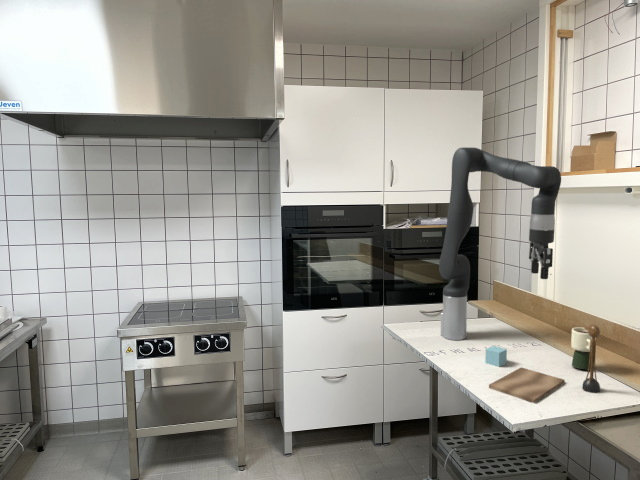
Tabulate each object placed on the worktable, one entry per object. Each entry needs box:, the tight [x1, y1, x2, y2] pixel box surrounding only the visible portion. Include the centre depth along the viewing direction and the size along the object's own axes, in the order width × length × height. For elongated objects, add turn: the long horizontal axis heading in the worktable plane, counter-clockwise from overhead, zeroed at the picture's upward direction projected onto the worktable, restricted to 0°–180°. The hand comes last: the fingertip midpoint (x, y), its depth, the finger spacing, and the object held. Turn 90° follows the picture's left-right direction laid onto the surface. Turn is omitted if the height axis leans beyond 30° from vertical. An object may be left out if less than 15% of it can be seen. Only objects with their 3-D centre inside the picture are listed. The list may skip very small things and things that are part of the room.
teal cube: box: [485, 345, 508, 368], centre depth 168 cm, size 5×5×5 cm
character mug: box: [570, 326, 597, 371], centre depth 162 cm, size 11×7×13 cm, turn 173°
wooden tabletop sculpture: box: [581, 323, 601, 394], centre depth 146 cm, size 6×5×20 cm
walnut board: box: [488, 366, 566, 404], centre depth 150 cm, size 14×20×1 cm
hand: (539, 276), depth 163 cm, fingers open, 8 cm apart
